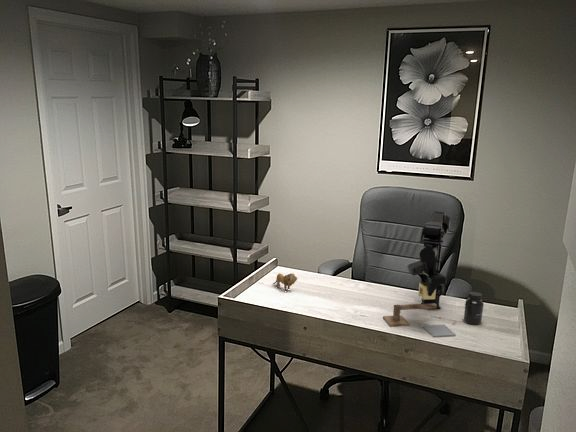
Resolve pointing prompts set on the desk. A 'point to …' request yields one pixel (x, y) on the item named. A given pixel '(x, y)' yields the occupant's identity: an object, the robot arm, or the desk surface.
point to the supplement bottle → (473, 309)
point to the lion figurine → (286, 280)
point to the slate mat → (439, 330)
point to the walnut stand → (399, 319)
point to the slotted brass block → (425, 291)
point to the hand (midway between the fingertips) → (427, 293)
